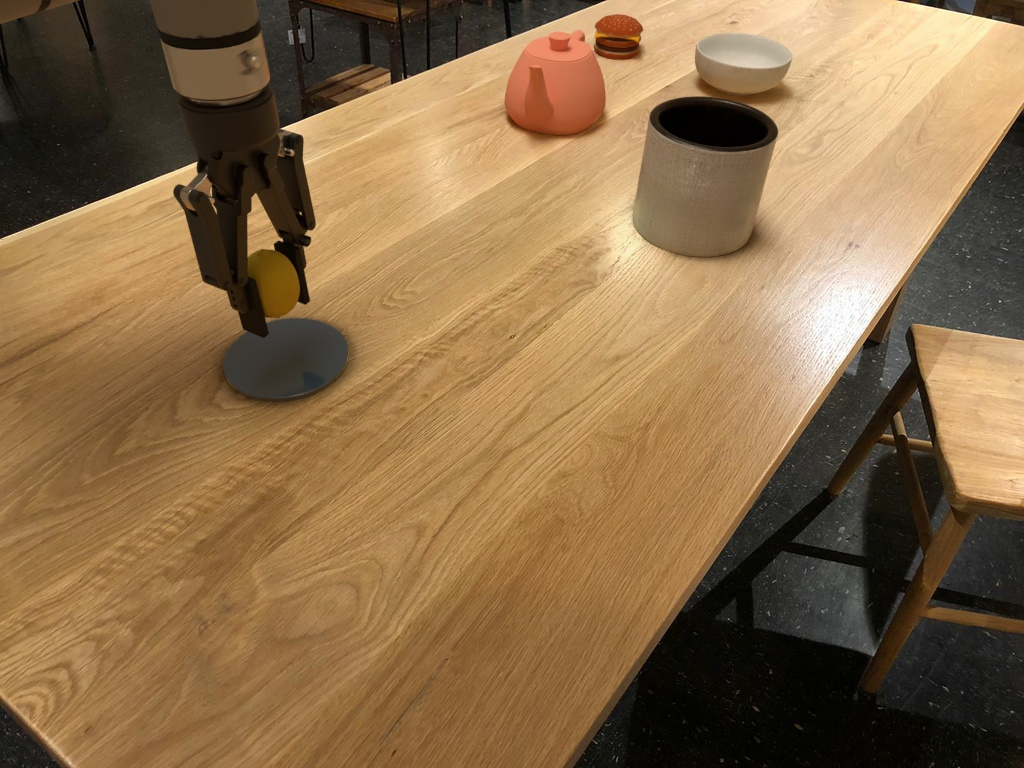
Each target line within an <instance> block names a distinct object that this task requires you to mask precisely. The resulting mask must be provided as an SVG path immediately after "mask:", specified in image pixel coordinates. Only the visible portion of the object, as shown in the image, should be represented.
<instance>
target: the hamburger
mask: <svg viewBox="0 0 1024 768" xmlns="http://www.w3.org/2000/svg"><path fill="white" fill-rule="evenodd" d="M594 29H595V30H596V31H595V33H594V39H595V42H594V44H593V50H594V53H596V54H597V55H598V56H601V57H602V58H603V57H604V58H607V59H610V60H611V59H612V60H627V59H632V58H634V57H637V56H638V55H639V53H640V42H641V41H642V36H641V34H642V32H644V27H643V25H642V24H641V23H640V22H639V20H638V19H637V18H635V17H633V16H630V15H627V14H619V13H618V14H617V13H615V14H610V15H609V14H607V15H605V16H603V17H602V18H600V19H598V21H596V23H594Z"/></svg>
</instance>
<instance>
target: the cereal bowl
mask: <svg viewBox="0 0 1024 768" xmlns="http://www.w3.org/2000/svg"><path fill="white" fill-rule="evenodd" d="M694 52H695V53H694V64H695V69H696V72H697V73H698V75H699V76H700V78H701V79H702V80H703V81H704V82H705V83H706V84H708V85H710V86H712V87H714V88H715V89H716V90H717V91H719V92H721V93H722V94H725V95H730V96H736V97H746V96H751V95H754V94H759V93H763V92H766V91H769V90H772V89H774V88H775V87H776V86H777V85H778V84H780V83H781V82H782V81H783V80H784V79H785V77H786V76H787V73H788V72H789V69H790V67H791V64H792V61H793V54H792V51H791V50H790V49H789V48H788V47H787V46H786V45H784V43H782V42H779V41H777V40H775V39H772V38H769V37H766V36H763V35H759V34H754V33H747V32H718V33H713V34H708V35H706V36H704V37H702V38H700V39H699V40H698V41H697V43H696V45H695V50H694Z"/></svg>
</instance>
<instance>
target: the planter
mask: <svg viewBox="0 0 1024 768" xmlns="http://www.w3.org/2000/svg"><path fill="white" fill-rule="evenodd" d="M778 137H779V129H778V126H777V123H776V122H775V121H774V119H772V117H770V116H769V115H768V114H766V113H765V112H763V111H762V110H760V109H759V108H758V109H757V108H756V107H754V106H751V105H749V104H747V103H743V102H740V101H737V100H732V99H729V98H723V97H715V96H703V95H702V96H700V95H697V96H681V97H677V98H671V99H668V100H666V101H663V102H661V103H659V104H657V105H656V106H655V107H653V109H651V111H650V113H649V116H648V122H647V127H646V134H645V140H644V147H643V150H642V151H643V152H642V157H641V163H640V170H639V174H638V180H637V186H636V192H635V198H634V205H633V209H632V222H633V226H634V228H635V230H636V231H637V232H638V233H639V235H640V237H642V238H643V239H645V240H646V241H647V242H649V244H652V245H653V246H656V247H657V248H660V249H663V250H665V251H667V252H670V253H673V254H677V255H681V256H688V257H695V258H696V257H697V258H711V257H712V258H713V257H720V256H725V255H729V254H731V253H733V252H736V251H738V250H740V249H741V248H743V247H744V246H745V245H746V244H747V243H748V241H749V239H750V237H751V235H752V233H753V230H754V227H755V222H756V219H757V214H758V212H759V211H758V210H759V207H760V203H761V200H762V195H763V193H764V188H765V183H766V180H767V177H768V173H769V169H770V166H771V162H772V158H773V154H774V151H775V147H776V142H777V140H778Z"/></svg>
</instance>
